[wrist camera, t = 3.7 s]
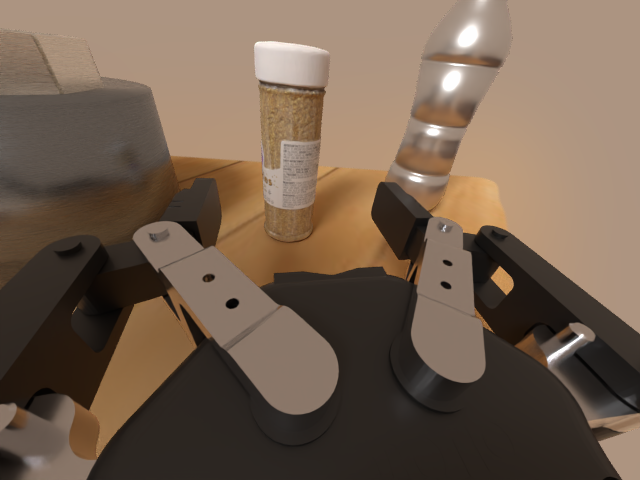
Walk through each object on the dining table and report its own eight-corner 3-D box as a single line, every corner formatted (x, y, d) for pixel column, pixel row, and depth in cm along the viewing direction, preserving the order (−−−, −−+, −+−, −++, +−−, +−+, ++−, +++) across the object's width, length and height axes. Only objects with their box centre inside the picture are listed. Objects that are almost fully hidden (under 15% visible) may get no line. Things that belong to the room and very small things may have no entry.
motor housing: (-65, 347, 11) (-735, -45, 4) (-69, 207, 20) (-286, -5, 12) (218, 227, 21) (182, 50, 14) (136, 167, 29) (85, 37, 22)
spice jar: (261, 219, 23) (249, 40, 15) (305, 214, 24) (316, 49, 16) (268, 247, 20) (259, 37, 12) (320, 241, 21) (343, 49, 13)
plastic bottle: (402, 189, 32) (474, -26, 20) (446, 212, 28) (571, -43, 16) (368, 198, 29) (429, -51, 17) (412, 225, 25) (535, -81, 13)
